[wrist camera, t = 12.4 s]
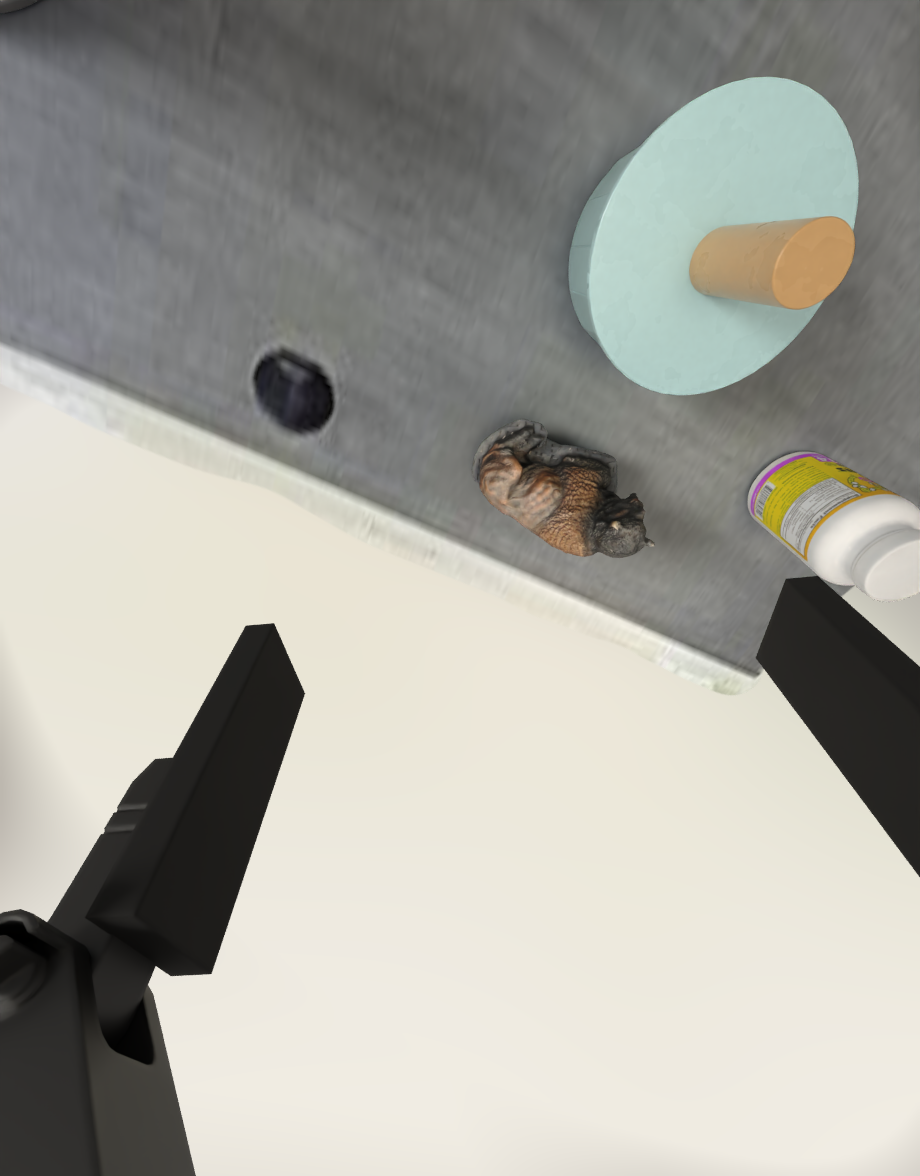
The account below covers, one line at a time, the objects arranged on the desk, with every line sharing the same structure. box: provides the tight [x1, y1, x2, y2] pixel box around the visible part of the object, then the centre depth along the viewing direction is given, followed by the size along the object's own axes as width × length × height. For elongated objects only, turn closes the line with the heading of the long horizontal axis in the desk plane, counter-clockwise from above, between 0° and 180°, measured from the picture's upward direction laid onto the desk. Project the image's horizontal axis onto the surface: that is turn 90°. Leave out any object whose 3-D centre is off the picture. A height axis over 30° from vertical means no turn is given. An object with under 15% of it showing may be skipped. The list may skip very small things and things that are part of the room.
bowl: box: [568, 146, 640, 345], centre depth 26 cm, size 11×11×8 cm
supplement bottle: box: [747, 451, 920, 602], centre depth 34 cm, size 7×7×13 cm
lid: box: [587, 77, 859, 395], centre depth 20 cm, size 13×13×9 cm
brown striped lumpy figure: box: [472, 419, 654, 558], centre depth 33 cm, size 12×7×10 cm, turn 73°
